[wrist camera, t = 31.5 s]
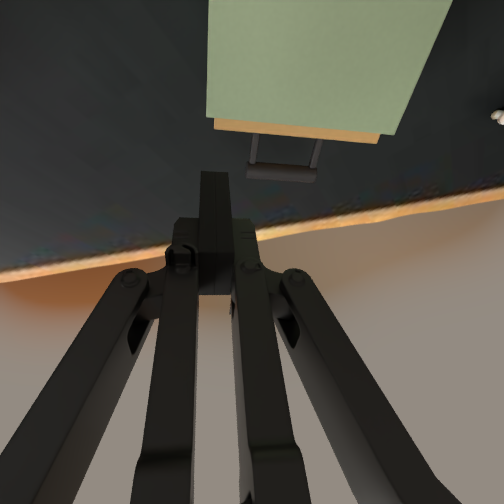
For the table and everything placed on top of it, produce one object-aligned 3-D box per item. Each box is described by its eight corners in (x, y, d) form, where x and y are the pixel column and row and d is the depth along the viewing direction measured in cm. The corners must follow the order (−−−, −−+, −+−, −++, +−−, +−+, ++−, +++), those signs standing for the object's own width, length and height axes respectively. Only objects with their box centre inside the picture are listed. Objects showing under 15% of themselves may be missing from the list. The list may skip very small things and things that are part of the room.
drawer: (329, 159, 36) (353, 202, 30) (213, 150, 34) (211, 193, 28) (423, -143, 21) (512, -190, 15) (225, -189, 19) (229, -266, 13)
